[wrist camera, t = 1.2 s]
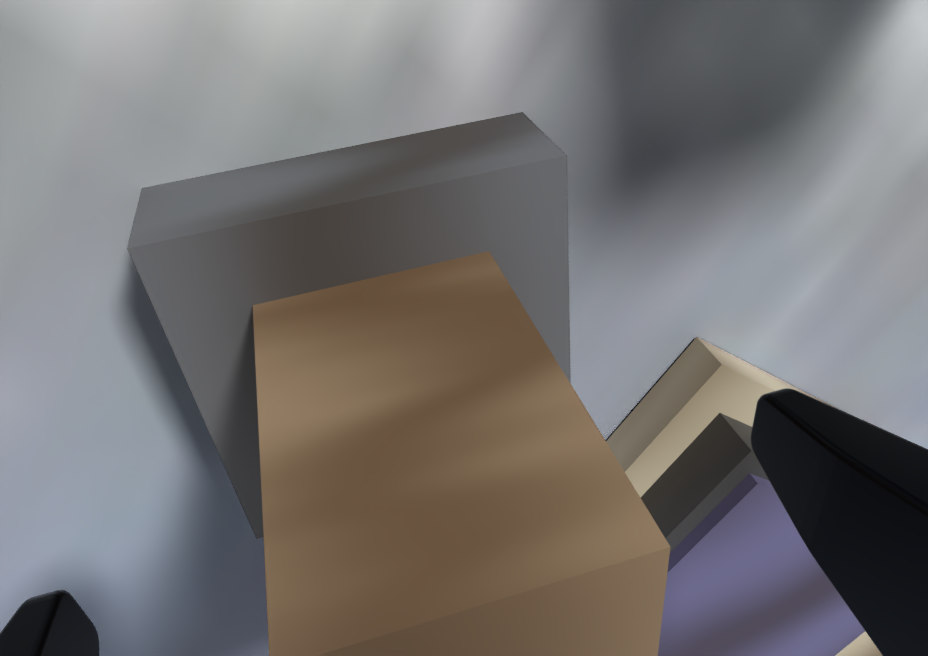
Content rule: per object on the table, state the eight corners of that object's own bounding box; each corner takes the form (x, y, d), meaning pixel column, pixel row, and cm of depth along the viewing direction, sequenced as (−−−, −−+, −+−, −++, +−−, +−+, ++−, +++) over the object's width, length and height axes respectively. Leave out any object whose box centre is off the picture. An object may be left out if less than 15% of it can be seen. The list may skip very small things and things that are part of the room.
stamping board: (1093, 539, 27) (1160, 594, 25) (862, 714, 32) (904, 774, 30) (696, 337, 15) (765, 411, 13) (413, 663, 20) (433, 756, 18)
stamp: (521, 110, 12) (824, 405, 6) (536, 385, 15) (732, 743, 9) (142, 186, 11) (33, 631, 5) (253, 460, 14) (270, 909, 8)
